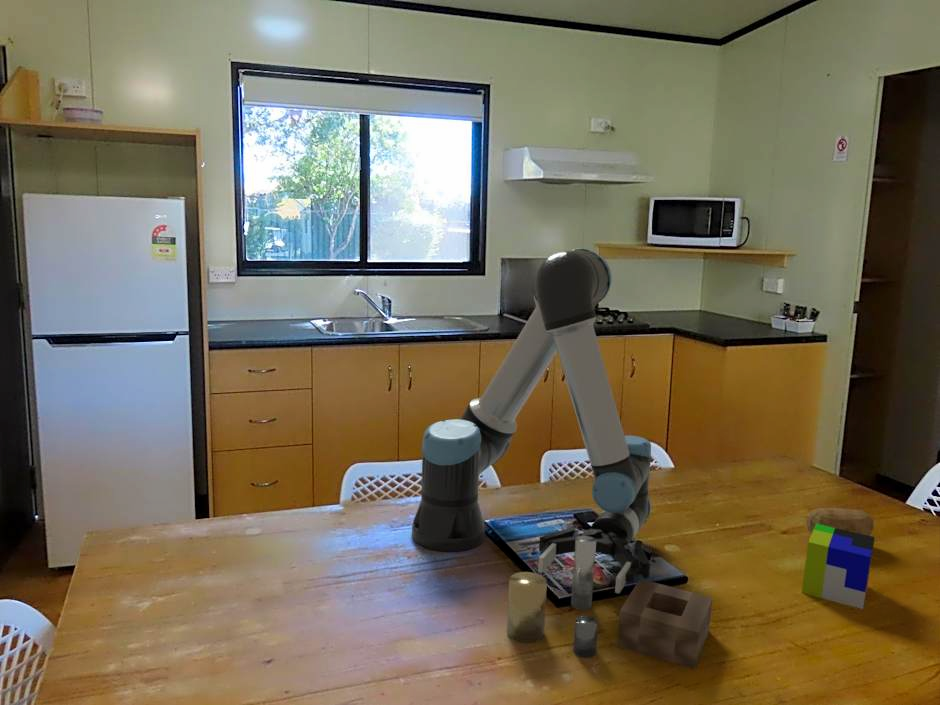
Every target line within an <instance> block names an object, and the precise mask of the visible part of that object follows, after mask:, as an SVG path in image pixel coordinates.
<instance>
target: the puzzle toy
mask: <svg viewBox="0 0 940 705" xmlns="http://www.w3.org/2000/svg"><path fill="white" fill-rule="evenodd" d="M874 545H875V536H871V535H869V536H868V535H863V534H859V533H855V532H850V531H846V530H842V529H837V528H833V527H829V526H824V525H820V524H816V525H815V527H814V530H813V532H812V534H811V533H810V536H809V539H808V542H807V549H806V554H805V555H806V556H805V557H806V558H805V562H804V563H805V565H804V571H803V572H804V573H803V580H802V587H801V593H802V594H805V593H806V595H809V596H812V595H813V597H817V598H819V599H823V600H827V601H830V600H831V602H834V601H835V602H834V603H837V604H841V605H842V604H843V605H845V604H846V606H848V605H850V606H849V607H852V606H853V608H856V607H857V609H859V608H860V610H863V609H864V605H865V601H866V600H865V599H866V595H867V592H868V591H867V589H868V585H869V578H870V572H871V564H872V559H873V558H872V557H873V550H874Z"/></svg>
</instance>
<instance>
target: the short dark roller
mask: <svg viewBox="0 0 940 705" xmlns="http://www.w3.org/2000/svg"><path fill="white" fill-rule="evenodd" d="M598 629H599V621H598V620H597V619H596V618H595V617H593V616H591V615H579V616H577V617H575V620H574V629H573V630H574V631H573V647H572V648H573V649H572V651H573V653H574V655H576V656H578V657H580V658H584V659H587V658H589V659H591V658H593V657H594V656H596V654H597V645H598V644H597V643H598V642H597V641H598Z"/></svg>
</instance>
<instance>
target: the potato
mask: <svg viewBox="0 0 940 705" xmlns="http://www.w3.org/2000/svg"><path fill="white" fill-rule="evenodd" d="M805 523H806V526H807V530H808V532H810V535H811V534H812V532H813V530H814V527H815V525H816V524H820V525H824V526H829V527H833V528H837V529H842V530H846V531H850V532H855V533H859V534H863V535H868V536H871V534H872V533H873V531H874V526H875V523H874V519H873V517H872V516H871V515H870V514H868V513H866V512H865V511H862V510H859V509H856V508H855V509H853V508H851V509H849V508H840V507H828V508H827V507H825V508H823V507H820V508H815V509H812V510H811V511H810V512H809V513H808V515H807V518H806V522H805Z"/></svg>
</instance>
